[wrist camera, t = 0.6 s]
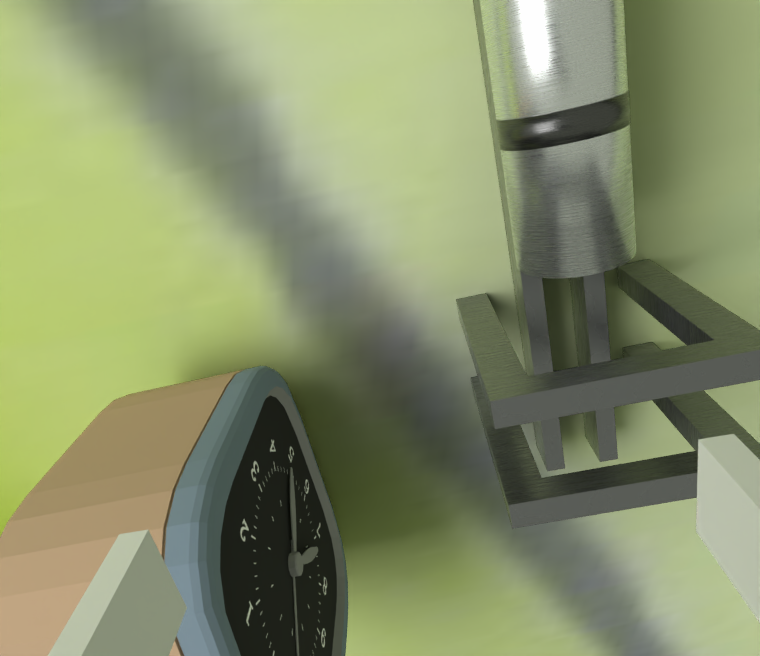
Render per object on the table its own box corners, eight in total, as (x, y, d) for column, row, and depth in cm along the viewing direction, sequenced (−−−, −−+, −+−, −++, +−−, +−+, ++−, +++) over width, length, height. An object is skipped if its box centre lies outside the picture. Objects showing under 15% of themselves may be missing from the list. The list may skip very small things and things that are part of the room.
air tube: (436, -225, 24) (451, -320, 18) (576, -268, 23) (636, -379, 18) (506, 254, 32) (530, 287, 27) (610, 231, 32) (658, 261, 26)
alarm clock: (355, 551, 45) (331, 910, 26) (245, 571, 46) (140, 930, 27) (278, 328, 38) (159, 596, 18) (148, 357, 39) (-103, 641, 19)
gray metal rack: (361, -202, 26) (341, -440, 15) (627, -283, 25) (842, -616, 13) (485, 454, 41) (525, 602, 30) (655, 423, 40) (769, 564, 28)
